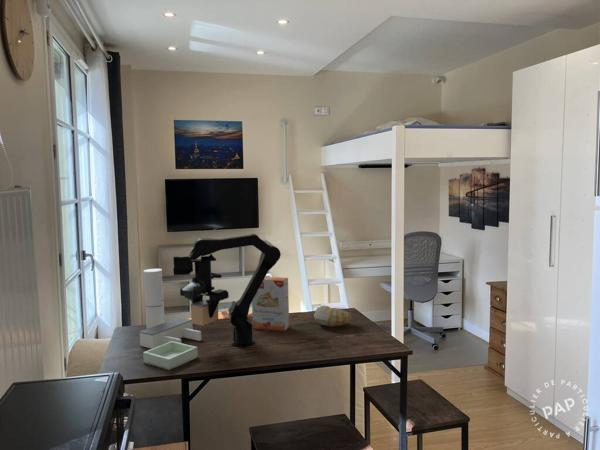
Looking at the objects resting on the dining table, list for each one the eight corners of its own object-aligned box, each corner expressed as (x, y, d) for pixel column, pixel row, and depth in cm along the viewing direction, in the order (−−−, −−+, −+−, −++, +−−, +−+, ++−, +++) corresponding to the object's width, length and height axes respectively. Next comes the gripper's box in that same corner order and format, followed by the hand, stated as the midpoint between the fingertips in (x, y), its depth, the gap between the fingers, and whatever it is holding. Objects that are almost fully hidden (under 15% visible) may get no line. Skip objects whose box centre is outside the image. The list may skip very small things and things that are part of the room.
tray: (197, 357, 161) (197, 347, 160) (169, 370, 150) (168, 359, 150) (172, 350, 167) (171, 340, 167) (143, 362, 157) (143, 352, 157)
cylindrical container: (167, 327, 194) (164, 268, 192) (160, 333, 187) (157, 271, 184) (151, 327, 195) (147, 268, 192) (143, 333, 188) (140, 272, 185)
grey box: (218, 319, 170) (217, 300, 169) (202, 325, 163) (202, 306, 162) (207, 317, 173) (206, 299, 172) (191, 323, 166) (190, 304, 165)
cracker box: (252, 329, 189) (250, 278, 187) (257, 324, 195) (256, 275, 193) (284, 331, 185) (283, 280, 183) (289, 327, 191) (288, 277, 189)
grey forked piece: (140, 345, 173) (139, 331, 173) (180, 330, 190) (180, 317, 190) (169, 353, 165) (169, 338, 164) (209, 336, 182) (209, 323, 181)
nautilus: (305, 319, 203) (338, 318, 207) (319, 331, 182) (356, 329, 186) (306, 301, 203) (338, 300, 206) (320, 311, 182) (356, 310, 186)
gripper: (167, 275, 164) (169, 318, 166) (206, 280, 154) (208, 326, 156) (190, 269, 174) (192, 310, 175) (228, 274, 164) (230, 317, 165)
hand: (205, 316), depth 168 cm, fingers closed on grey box, 5 cm apart
